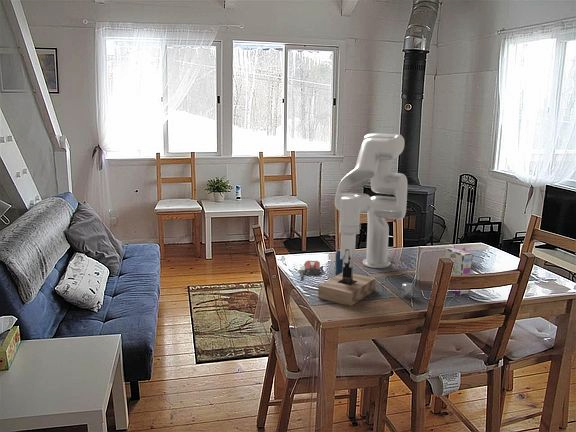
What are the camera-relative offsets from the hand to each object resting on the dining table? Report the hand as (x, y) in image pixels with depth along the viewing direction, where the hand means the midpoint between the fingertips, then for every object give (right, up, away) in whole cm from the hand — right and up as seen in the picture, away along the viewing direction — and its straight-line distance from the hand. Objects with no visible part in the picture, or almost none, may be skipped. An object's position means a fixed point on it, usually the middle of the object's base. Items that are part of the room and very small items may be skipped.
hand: (347, 274), depth 203 cm
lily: (+57, 0, +41) cm, 70 cm away
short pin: (+23, -8, 0) cm, 24 cm away
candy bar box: (+44, -7, +7) cm, 45 cm away
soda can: (+1, -3, +22) cm, 22 cm away
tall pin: (0, -3, +1) cm, 3 cm away
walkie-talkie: (-13, -3, +27) cm, 30 cm away
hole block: (0, -8, +2) cm, 8 cm away
